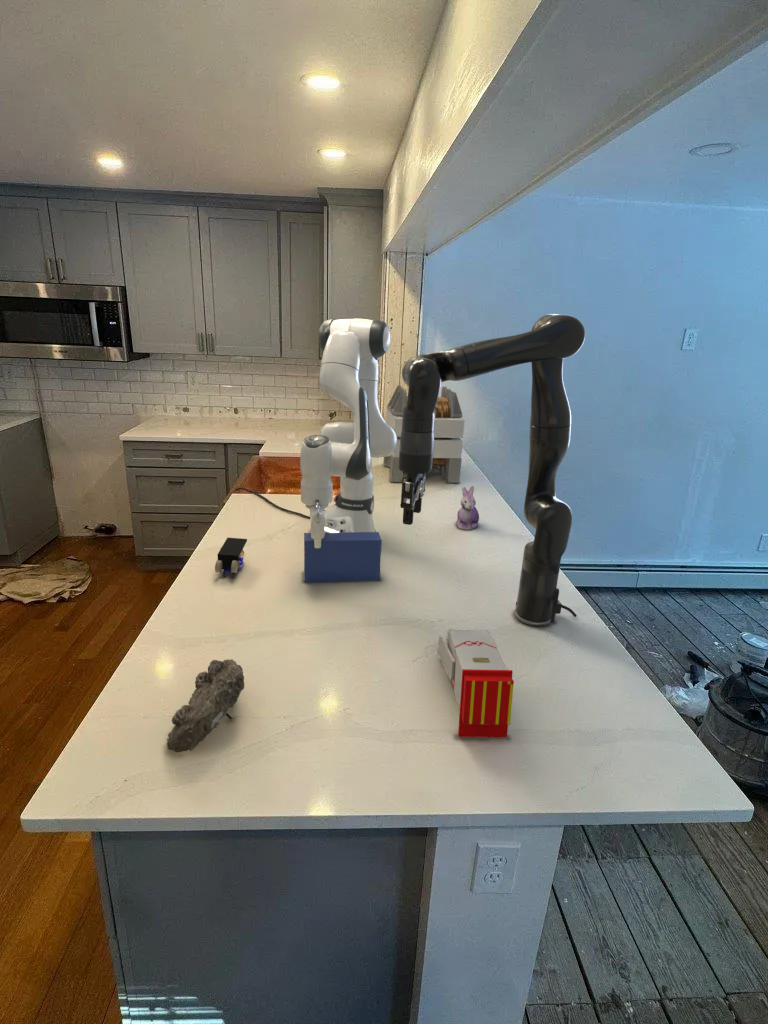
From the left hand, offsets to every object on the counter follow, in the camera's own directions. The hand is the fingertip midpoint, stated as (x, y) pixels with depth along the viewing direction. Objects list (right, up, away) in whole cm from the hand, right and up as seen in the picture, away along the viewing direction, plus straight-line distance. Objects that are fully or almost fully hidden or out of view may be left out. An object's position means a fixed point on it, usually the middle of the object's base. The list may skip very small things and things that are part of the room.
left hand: (317, 540), depth 162 cm
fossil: (-14, -31, -54) cm, 64 cm away
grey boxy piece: (+36, +27, +113) cm, 121 cm away
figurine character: (-26, -9, +5) cm, 28 cm away
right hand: (+26, +7, -31) cm, 41 cm away
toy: (+37, -30, -44) cm, 65 cm away
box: (+7, -11, +4) cm, 14 cm away
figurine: (+50, +3, +48) cm, 69 cm away
